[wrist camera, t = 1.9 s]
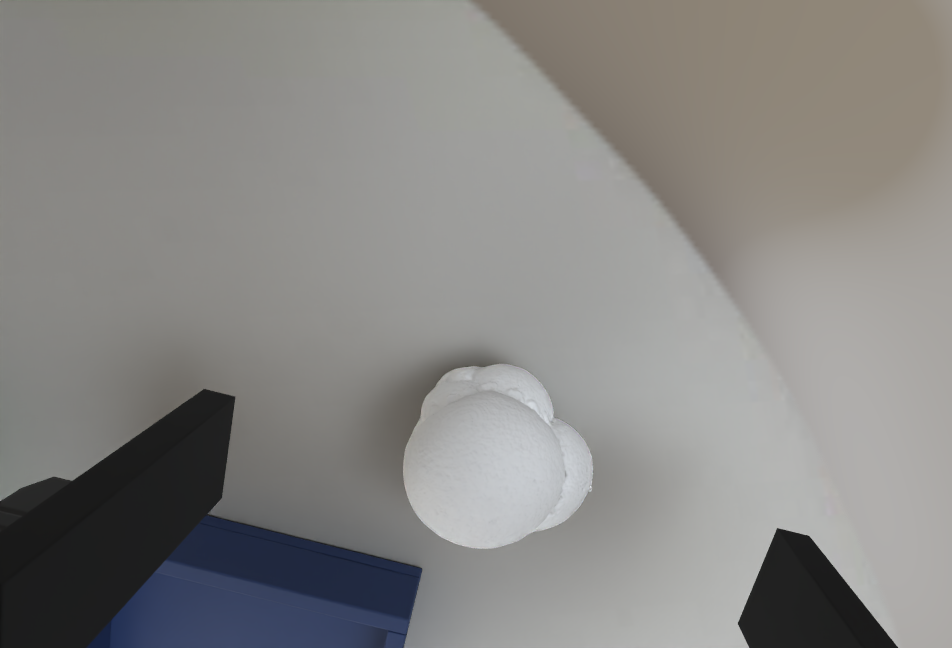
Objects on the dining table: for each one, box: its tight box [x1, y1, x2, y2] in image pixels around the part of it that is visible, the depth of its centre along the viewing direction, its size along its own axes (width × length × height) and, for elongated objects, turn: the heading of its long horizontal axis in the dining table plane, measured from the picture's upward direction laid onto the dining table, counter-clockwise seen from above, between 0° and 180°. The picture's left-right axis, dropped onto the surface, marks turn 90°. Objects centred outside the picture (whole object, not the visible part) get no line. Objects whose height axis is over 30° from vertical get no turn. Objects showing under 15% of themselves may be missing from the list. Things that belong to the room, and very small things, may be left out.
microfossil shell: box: [403, 363, 594, 549], centre depth 17 cm, size 4×5×6 cm
